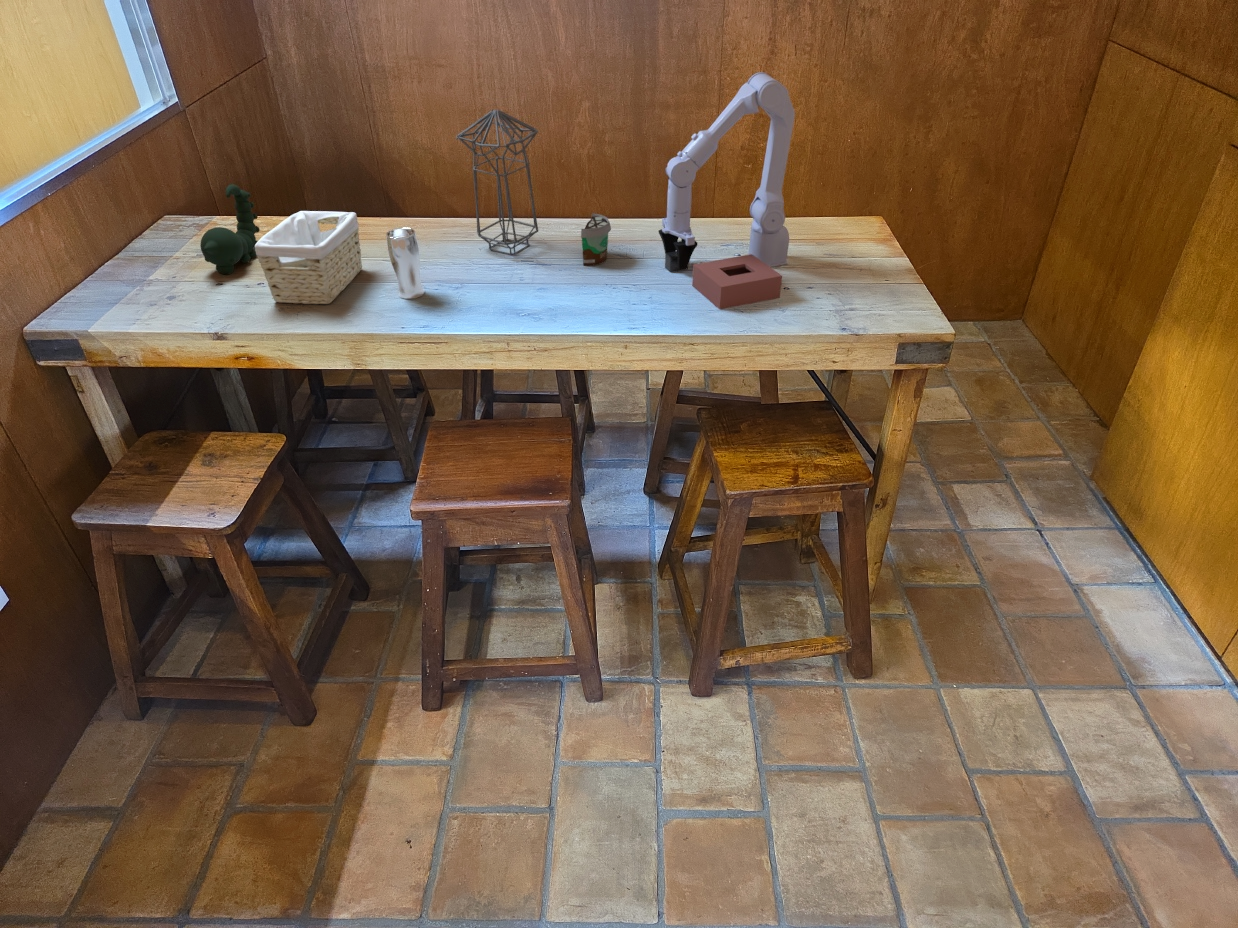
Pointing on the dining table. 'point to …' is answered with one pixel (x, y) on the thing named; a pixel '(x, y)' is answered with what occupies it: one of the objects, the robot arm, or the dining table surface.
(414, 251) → the beer glass
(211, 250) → the toy figurine
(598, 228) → the food container
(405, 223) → the dining table surface
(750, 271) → the box
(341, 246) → the storage basket
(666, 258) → the grey rectangular block
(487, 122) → the geometric lantern
